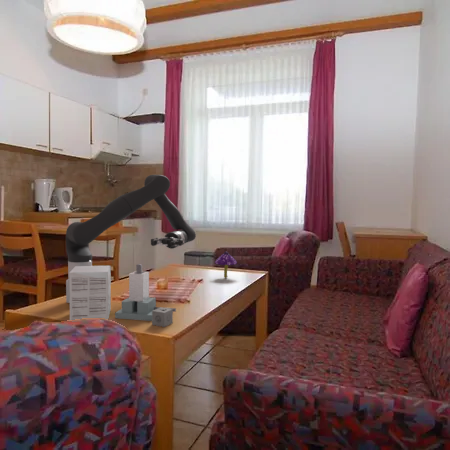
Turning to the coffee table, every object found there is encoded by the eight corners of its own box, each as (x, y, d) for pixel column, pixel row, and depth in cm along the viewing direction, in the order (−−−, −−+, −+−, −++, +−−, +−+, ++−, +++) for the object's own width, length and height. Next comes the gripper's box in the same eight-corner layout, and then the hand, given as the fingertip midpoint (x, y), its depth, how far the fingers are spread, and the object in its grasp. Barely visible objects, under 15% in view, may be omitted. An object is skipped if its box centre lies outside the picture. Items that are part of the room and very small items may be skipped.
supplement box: (75, 311, 143) (74, 265, 142) (111, 309, 146) (111, 265, 145) (68, 322, 130) (68, 272, 129) (108, 320, 133) (108, 271, 132)
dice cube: (164, 327, 126) (164, 312, 126) (152, 325, 129) (152, 310, 128) (172, 323, 131) (172, 309, 131) (160, 321, 133) (160, 307, 133)
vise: (115, 318, 135) (115, 265, 134) (127, 310, 145) (127, 261, 144) (170, 322, 132) (171, 268, 130) (179, 314, 141) (179, 264, 140)
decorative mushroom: (230, 281, 203) (230, 253, 202) (210, 278, 209) (210, 251, 208) (240, 277, 214) (241, 251, 213) (221, 275, 220) (222, 249, 219)
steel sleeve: (129, 300, 136) (129, 273, 136) (135, 297, 142) (135, 271, 141) (143, 301, 135) (143, 274, 135) (148, 298, 141) (148, 271, 140)
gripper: (160, 231, 177) (146, 234, 162) (188, 231, 175) (177, 235, 159) (160, 246, 178) (146, 251, 162) (189, 247, 175) (177, 253, 159)
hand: (161, 243), depth 161 cm, fingers open, 8 cm apart
